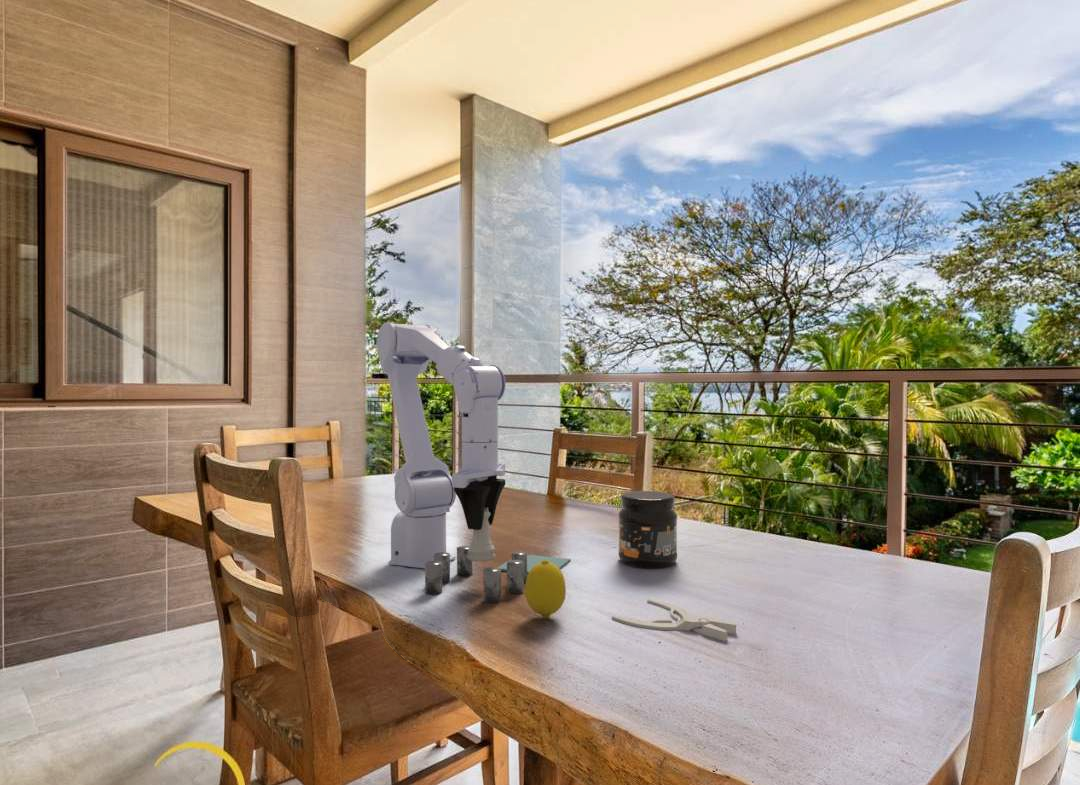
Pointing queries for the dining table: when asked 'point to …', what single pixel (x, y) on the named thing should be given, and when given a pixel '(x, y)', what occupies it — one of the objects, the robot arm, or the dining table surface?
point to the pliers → (685, 622)
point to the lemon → (545, 588)
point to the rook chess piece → (482, 542)
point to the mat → (534, 560)
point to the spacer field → (440, 573)
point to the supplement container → (647, 529)
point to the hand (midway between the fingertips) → (480, 526)
